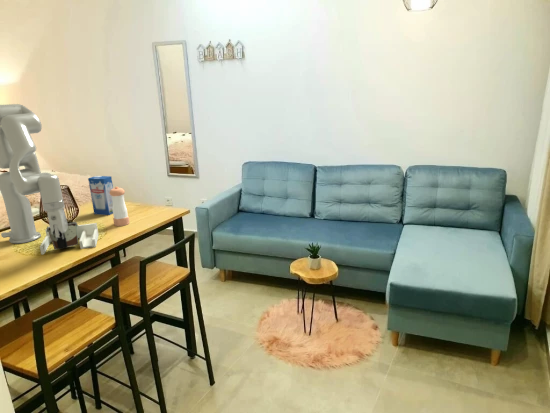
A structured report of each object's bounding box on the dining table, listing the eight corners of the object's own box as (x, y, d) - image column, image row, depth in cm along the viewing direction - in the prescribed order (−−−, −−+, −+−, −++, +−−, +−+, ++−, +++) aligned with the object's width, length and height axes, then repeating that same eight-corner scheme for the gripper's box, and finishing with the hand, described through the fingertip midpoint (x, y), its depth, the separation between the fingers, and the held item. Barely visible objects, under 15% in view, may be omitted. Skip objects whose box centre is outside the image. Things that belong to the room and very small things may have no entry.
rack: (41, 254, 169) (38, 241, 167) (48, 241, 183) (45, 229, 181) (95, 246, 175) (93, 233, 174) (98, 235, 189) (96, 222, 188)
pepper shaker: (124, 226, 200) (118, 188, 195) (111, 226, 202) (105, 188, 196) (132, 221, 207) (127, 185, 201) (119, 221, 208) (113, 184, 203)
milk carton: (94, 214, 222) (87, 178, 216) (101, 210, 228) (96, 175, 222) (109, 215, 219) (103, 178, 213) (116, 211, 225) (111, 176, 219)
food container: (76, 245, 181) (71, 223, 181) (81, 243, 176) (76, 221, 176) (46, 251, 172) (41, 228, 172) (51, 250, 167) (46, 226, 167)
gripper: (60, 208, 159) (70, 252, 164) (66, 200, 173) (75, 240, 177) (39, 211, 157) (49, 255, 162) (47, 202, 170) (56, 243, 175)
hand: (63, 247), depth 170 cm, fingers closed
